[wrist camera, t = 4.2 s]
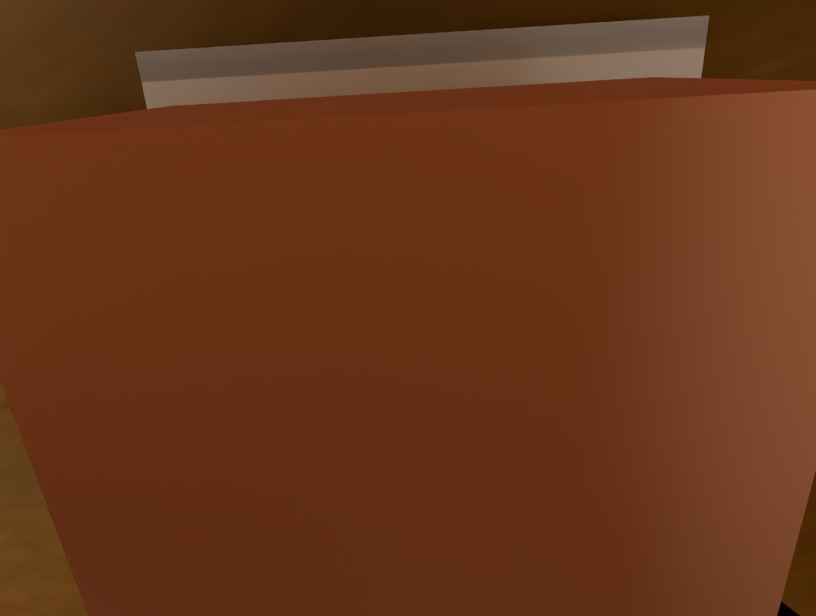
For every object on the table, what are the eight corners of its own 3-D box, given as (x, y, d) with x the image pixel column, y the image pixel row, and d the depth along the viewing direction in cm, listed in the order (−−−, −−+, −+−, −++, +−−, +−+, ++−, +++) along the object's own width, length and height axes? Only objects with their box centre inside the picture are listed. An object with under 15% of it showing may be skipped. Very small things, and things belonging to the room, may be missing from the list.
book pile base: (661, 24, 14) (709, 15, 12) (612, 508, 20) (637, 566, 17) (180, 55, 14) (135, 52, 12) (268, 518, 20) (249, 575, 18)
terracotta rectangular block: (653, 76, 7) (918, 85, 3) (587, 747, 12) (661, 1050, 8) (171, 105, 7) (-87, 142, 4) (302, 751, 12) (251, 1046, 8)
